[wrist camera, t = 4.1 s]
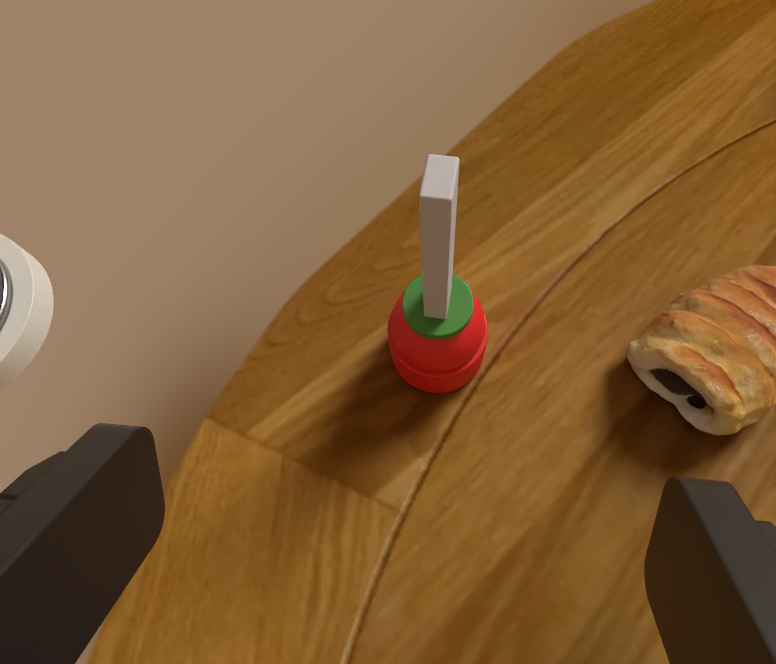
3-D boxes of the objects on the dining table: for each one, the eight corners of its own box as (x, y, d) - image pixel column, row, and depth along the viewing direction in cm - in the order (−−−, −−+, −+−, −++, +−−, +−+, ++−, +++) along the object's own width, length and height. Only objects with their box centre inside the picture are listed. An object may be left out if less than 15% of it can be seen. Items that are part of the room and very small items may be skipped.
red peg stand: (383, 385, 31) (340, 238, 17) (400, 301, 33) (373, 103, 19) (477, 400, 31) (514, 260, 16) (489, 313, 32) (532, 117, 18)
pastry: (721, 251, 33) (757, 214, 29) (831, 332, 30) (883, 303, 27) (610, 362, 31) (633, 337, 27) (718, 457, 29) (760, 443, 25)
